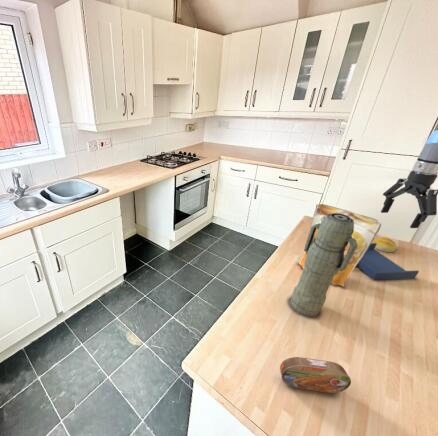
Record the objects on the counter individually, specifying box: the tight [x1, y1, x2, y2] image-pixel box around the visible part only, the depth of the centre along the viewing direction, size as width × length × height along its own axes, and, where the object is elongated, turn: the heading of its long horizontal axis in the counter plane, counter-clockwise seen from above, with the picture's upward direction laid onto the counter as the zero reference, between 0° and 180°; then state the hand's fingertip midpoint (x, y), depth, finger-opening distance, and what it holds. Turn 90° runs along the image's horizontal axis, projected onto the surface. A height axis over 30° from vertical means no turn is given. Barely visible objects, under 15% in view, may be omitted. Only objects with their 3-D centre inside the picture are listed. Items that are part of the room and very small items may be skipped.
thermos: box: [289, 213, 358, 318], centre depth 75 cm, size 9×12×35 cm
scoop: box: [356, 243, 420, 281], centre depth 101 cm, size 26×19×4 cm
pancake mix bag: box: [298, 203, 382, 288], centre depth 91 cm, size 7×19×28 cm, turn 34°
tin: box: [279, 356, 352, 394], centre depth 60 cm, size 15×3×8 cm, turn 80°
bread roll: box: [372, 237, 398, 253], centre depth 111 cm, size 8×9×4 cm
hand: (398, 219), depth 105 cm, fingers open, 13 cm apart
